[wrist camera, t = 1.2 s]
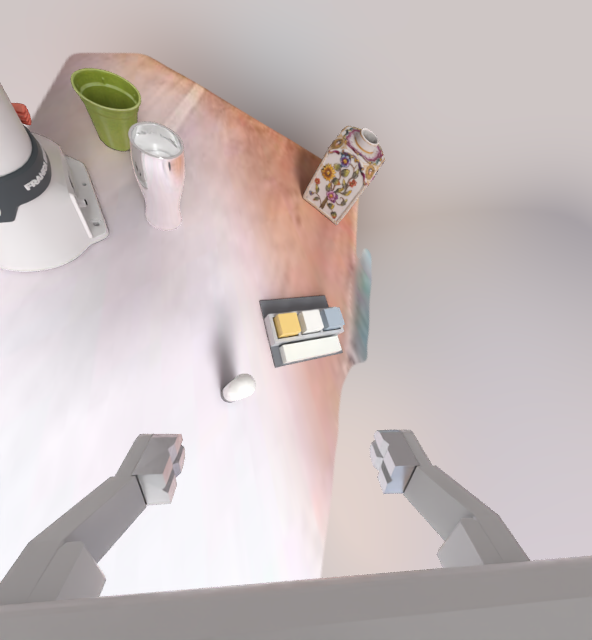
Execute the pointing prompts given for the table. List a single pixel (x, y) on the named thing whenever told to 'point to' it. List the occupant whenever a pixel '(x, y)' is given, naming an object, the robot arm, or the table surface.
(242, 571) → the table surface
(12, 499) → the table surface
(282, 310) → the keypad
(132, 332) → the table surface
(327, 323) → the key slate
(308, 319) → the key white
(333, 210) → the decorative jar
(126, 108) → the plant pot
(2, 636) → the robot arm
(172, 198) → the beer glass
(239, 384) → the white rounded cylinder
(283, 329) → the key amber
